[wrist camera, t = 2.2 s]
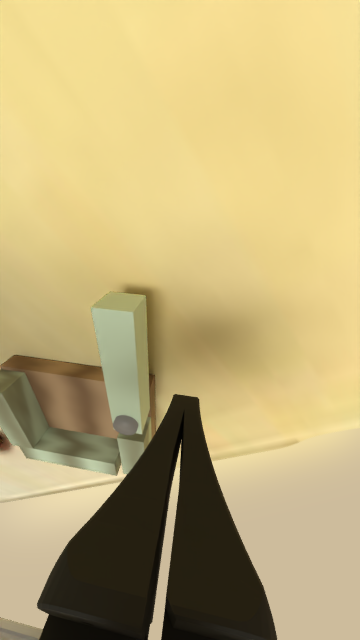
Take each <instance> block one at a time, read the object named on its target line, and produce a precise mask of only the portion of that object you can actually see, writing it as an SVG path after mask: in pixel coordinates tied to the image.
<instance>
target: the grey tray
mask: <svg viewBox="0 0 360 640" xmlns="http://www.w3.org/2000/svg"><path fill="white" fill-rule="evenodd" d="M0 367H1V370H0V427H1V429H2V430H3V432H4V433H5V435H6V436H7V438H8V439H9V441H10V442H11V444H12V445H16V446H19V447H20V448H21V450H22V452H23V453H24V455H25V456H26V458H29V459H34V460H39V461H44V462H49V463H54V464H59V465H65V466H70V467H75V468H80V469H85V470H90V471H95V472H100V473H105V474H111V475H116V476H117V474H118V471H119V468H120V465H121V463H122V468H123V473H124V474H128V473H129V472H130V470H131V469H132V468H133V466H134V465H135V464H136V462H137V461H138V459H139V458H140V456H141V455H142V454H143V452H144V451H145V449H146V448H147V446H148V444H149V443H150V441H151V440H152V438H153V436H154V435H155V433H156V432H155V375H151V374H149V396H150V410H149V413H148V417H147V420H146V423H145V426H144V430H143V433H142V434H137V433H135V434H133V435H124V434H121V433H119V432H117V431H116V430H114V428H113V423H112V418H111V412H110V407H109V402H108V396H107V391H106V386H105V381H104V375H103V370H102V367H95V366H88V365H81V364H74V363H67V362H60V361H53V360H46V359H39V358H32V357H25V356H18V355H14V356H12V357H11V358H10V359H8V360H7V361H6V362H4V363H3V364H2V365H0Z"/></svg>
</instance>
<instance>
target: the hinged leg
mask: <svg viewBox="0 0 360 640" xmlns="http://www.w3.org/2000/svg"><path fill="white" fill-rule="evenodd" d="M91 312H92V317H93V322H94V327H95V333H96V338H97V343H98V349H99V354H100V359H101V365H102V370H103V375H104V381H105V386H106V391H107V396H108V402H109V407H110V412H111V418H112V423H113V428H114V430H116V431H117V432H119V433H121V434H124V435H133V434H135V433H137V434H142V433H143V430H144V426H145V423H146V420H147V417H148V413H149V410H150V396H149V368H148V339H147V311H146V295H139V294H129V293H120V292H109V293H108V294H106V295H105V296H104V297H103V298H102V299H100V300H99V301H98V302H97V303H96V304H94V305H93V306H92V307H91Z"/></svg>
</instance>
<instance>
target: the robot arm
mask: <svg viewBox="0 0 360 640" xmlns="http://www.w3.org/2000/svg"><path fill="white" fill-rule="evenodd" d="M181 439H182V441H181ZM180 444H181V461H180V483H179V495H178V502H177V511H176V519H175V528H174V536H173V544H172V552H171V561H170V569H169V577H168V586H167V594H166V605H165V613H164V621H163V630H162V639H161V640H277V636H276V631H275V626H274V622H273V618H272V614H271V611H270V607H269V604H268V600H267V597H266V594H265V591H264V587H263V585H262V583H261V581H260V579H259V577H258V575H257V573H256V570H255V568H254V566H253V564H252V562H251V560H250V558H249V555H248V553H247V551H246V549H245V547H244V544H243V542H242V540H241V538H240V535H239V533H238V531H237V528H236V526H235V524H234V521H233V519H232V517H231V514H230V511H229V509H228V506H227V504H226V502H225V499H224V497H223V494H222V491H221V488H220V485H219V483H218V480H217V477H216V474H215V471H214V468H213V465H212V461H211V458H210V455H209V451H208V448H207V444H206V440H205V435H204V431H203V427H202V421H201V416H200V407H199V399H198V398H197V397H191V396H184V395H178V394H175V395H173V399H172V401H171V404H170V406H169V408H168V411H167V413H166V415H165V417H164V419H163V420H162V422H161V424H160V426H159V428H158V430H157V431H156V433H155V435H154V436H153V438H152V440H151V441H150V443H149V444H148V446H147V448H146V449H145V451H144V452H143V454H142V455H141V456H140V458H139V459H138V461H137V462H136V464H135V465H134V466H133V468H132V469H131V470H130V472H129V473H128V474H127V476H126V477H125V478H124V480H123V481H122V482H121V483H120V485H119V486H118V487H117V488H116V490H115V491H114V492H113V493H112V494H111V495H110V497H109V498H108V499H107V500H106V501H105V503H104V504H103V505H102V506H101V507H100V508H99V510H98V511H97V512H96V513H95V514H94V515H93V516H92V518H90V520H89V521H88V522H87V523H86V524H85V525H84V526H83V527H82V528H81V529H80V530H79V531H78V532H77V534H76V535H75V536H74V537H73V538H72V539H71V540H70V541H69V543H68V544H67V546H66V547H65V549H64V550H63V552H62V554H61V555H60V557H59V559H58V560H57V562H56V564H55V566H54V568H53V570H52V572H51V573H50V575H49V578H48V580H47V582H46V584H45V587H44V589H43V591H42V594H41V596H40V598H39V600H38V603H37V606H38V609H40V610H42V611H44V612H46V613H48V614H49V616H48V618H47V621H46V623H45V626H44V628H43V629H39V628H36V627H32V626H29V625H25V624H22V623H18V622H14V621H11V620H8V619H4V618H0V640H148V634H149V627H150V624H151V623H152V619H153V612H154V605H155V598H156V597H155V596H156V590H157V583H158V576H159V569H160V561H161V554H162V547H163V540H164V533H165V526H166V518H167V511H168V503H169V497H170V491H171V486H172V481H173V476H174V471H175V467H176V462H177V458H178V453H179V448H180Z"/></svg>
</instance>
